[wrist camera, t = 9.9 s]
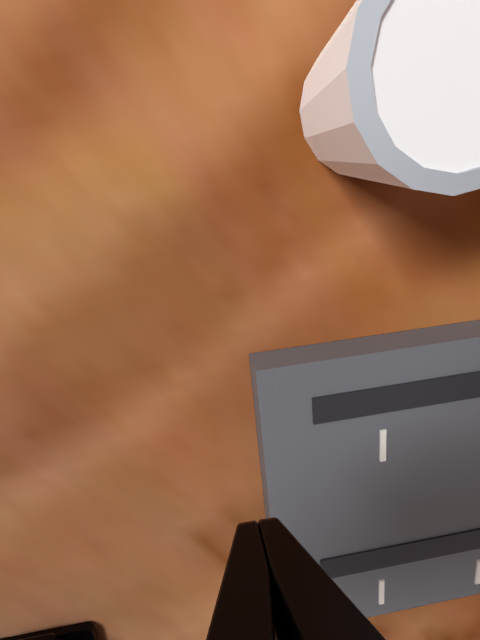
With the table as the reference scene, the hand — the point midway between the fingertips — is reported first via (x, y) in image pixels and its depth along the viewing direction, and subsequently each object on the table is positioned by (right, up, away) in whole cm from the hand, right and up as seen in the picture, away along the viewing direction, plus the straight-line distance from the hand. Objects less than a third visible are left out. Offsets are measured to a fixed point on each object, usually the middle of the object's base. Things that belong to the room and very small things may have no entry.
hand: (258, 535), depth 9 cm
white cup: (+5, +14, +9) cm, 17 cm away
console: (+13, -4, +16) cm, 20 cm away
